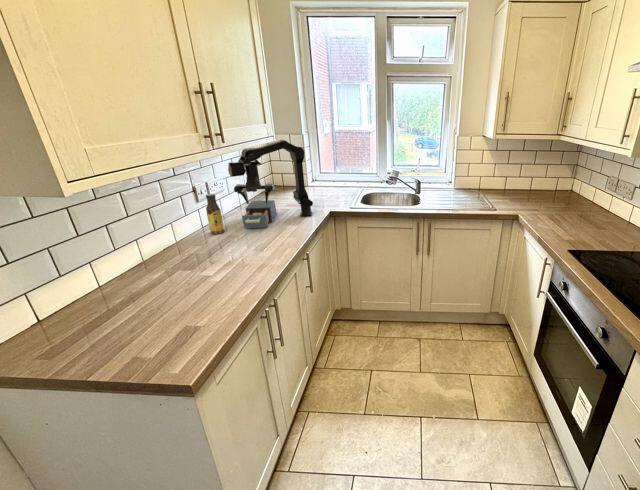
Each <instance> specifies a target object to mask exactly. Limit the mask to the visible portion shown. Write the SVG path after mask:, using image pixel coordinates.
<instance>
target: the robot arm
mask: <svg viewBox="0 0 640 490" xmlns="http://www.w3.org/2000/svg"><path fill="white" fill-rule="evenodd" d="M280 150H285V151H287V152H288V153H289V156H290V158H291V160H292V163H293V170H294V180H295V190H293V191H292V194H293V199H294V200H295V202H297V204H298V205H299V206H300V217H312V216H313V211H312V207H313V204H314V202H313V201H312V200H311V199H310V197H309V193H308V191H307V190H306V186H305V175H304V167H303V166H304V165H303V163H304V160H305V149H304V148H303V147H301V146H297V145H294V144H293V143H291V142H288V141H287V140H284V139H280V140H277V141H274V142H271V143H269V144H265V145H261V146H258V147H247V148H243V149H242V150H241V153H240V154H241V156H240V157H239V159H238V161H235V162H233V161H231V162H228V164H227V165H228V168H227V172H228V174H229V176H230V177H231V178H234V177H235V178H236V177H242V176H244V175H246V182H245V183H241V184H240V183H238V184H236V185H235V186H234V187H233V192H234V193H237V194H240V195H241V197H243V199H244V200H245V202H246V204H247V205H249V204H250V200H249V197H248V193H251V192H252V193H255V192H257V191H258V190H265V191H264V196H265V201H266V203H267V202H268V200H269V197H270V196H269V195H270V193H272V192H273V191H274V190H276V187H275V186H276V185H275V183H273V182H272V183H265V184H263V185H262V184H261V181H260V175H259V169H258V166H260V165H262V162H260V161H259V159H260V158H261V157H263V156H264V155H268V154H270V153H274V152H277V151H280Z"/></svg>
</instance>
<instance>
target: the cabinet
mask: <svg viewBox="0 0 640 490" xmlns="http://www.w3.org/2000/svg"><path fill="white" fill-rule="evenodd" d="M254 209H269V214H270V220H269V222H268V223H273V222H274V220H275V218H276V217H277V208H276V200H275V199H272V200H271V199H268V202H267V203H266V200H251V201H250V202H249V204H247V206H246V207H245V214H246V213H247V212H248V210H254Z"/></svg>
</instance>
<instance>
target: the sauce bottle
mask: <svg viewBox="0 0 640 490" xmlns="http://www.w3.org/2000/svg"><path fill="white" fill-rule="evenodd" d="M216 197H217V196H216V194H215V193H206V194H205V198H206V202H207V204H206V207H205V211H206V217H207V221H208V227H209V231H210V234H212V235H219V234H223V233H224V232H225V226H224V220H223V214H222V210H221V208H220V206H219V204H218V203H217V199H216Z"/></svg>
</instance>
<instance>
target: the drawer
mask: <svg viewBox="0 0 640 490" xmlns="http://www.w3.org/2000/svg"><path fill="white" fill-rule="evenodd" d="M253 213H262V215H253ZM241 217H242V223H243V224H242V225H243V229H257V228H258V229H261V228H268V227H269V223H270V222H269V220H270V214H269V209H254V210H248V212H247V213H246V212H245V214H243V215H242V216H241Z"/></svg>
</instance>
